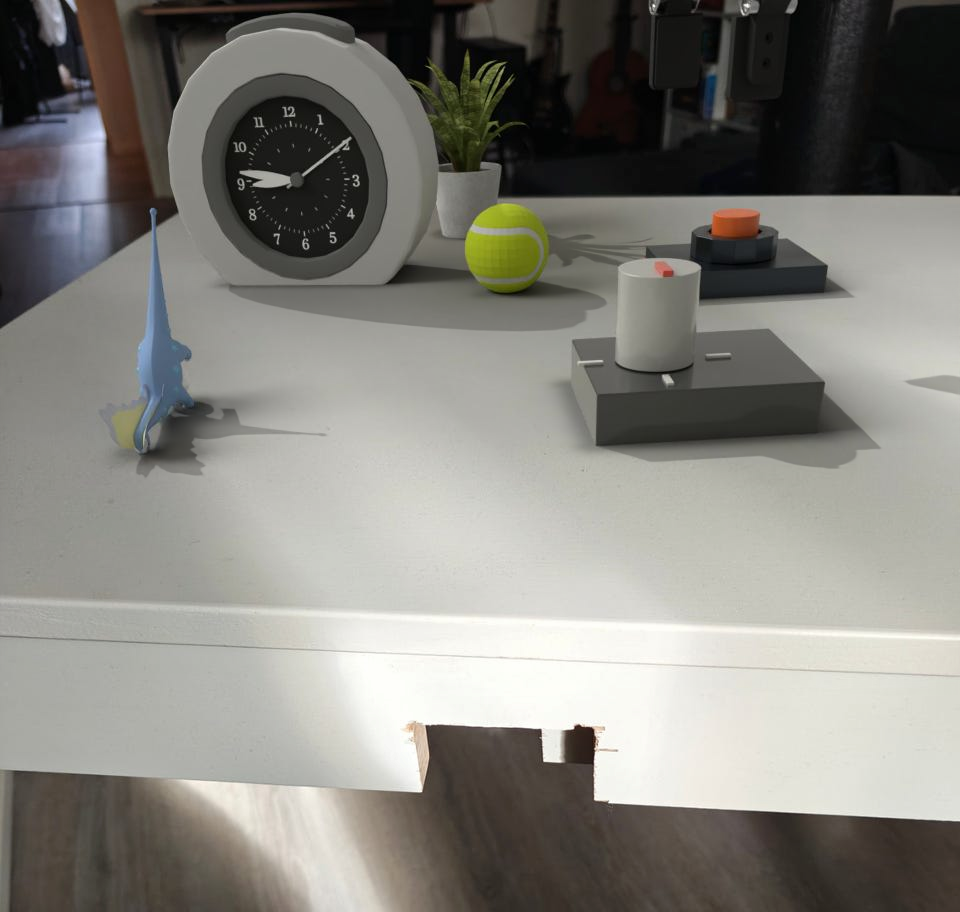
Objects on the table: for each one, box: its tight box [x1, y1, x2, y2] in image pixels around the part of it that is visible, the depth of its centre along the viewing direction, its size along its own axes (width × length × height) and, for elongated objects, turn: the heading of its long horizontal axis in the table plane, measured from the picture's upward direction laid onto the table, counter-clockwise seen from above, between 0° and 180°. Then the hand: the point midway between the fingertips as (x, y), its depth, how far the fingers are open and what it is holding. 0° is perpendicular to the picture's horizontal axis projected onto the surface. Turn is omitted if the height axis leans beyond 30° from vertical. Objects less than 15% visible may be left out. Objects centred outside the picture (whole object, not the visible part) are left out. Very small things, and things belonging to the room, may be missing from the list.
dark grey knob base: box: [570, 328, 826, 447], centre depth 58 cm, size 12×10×3 cm
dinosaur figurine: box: [98, 207, 195, 455], centre depth 58 cm, size 3×15×10 cm
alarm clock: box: [167, 12, 440, 286], centre depth 85 cm, size 21×8×20 cm, turn 82°
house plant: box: [405, 48, 530, 239], centre depth 99 cm, size 14×14×16 cm
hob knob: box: [615, 258, 701, 372], centre depth 56 cm, size 4×4×5 cm
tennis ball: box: [464, 203, 550, 294], centre depth 81 cm, size 7×7×7 cm
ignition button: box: [711, 208, 761, 237], centre depth 80 cm, size 4×4×2 cm
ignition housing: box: [645, 223, 829, 300], centre depth 81 cm, size 12×10×4 cm
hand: (710, 93), depth 60 cm, fingers open, 9 cm apart
